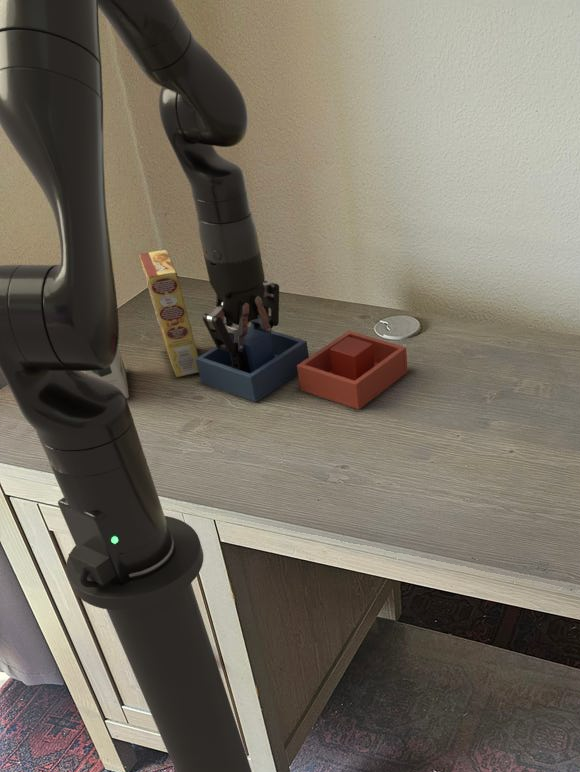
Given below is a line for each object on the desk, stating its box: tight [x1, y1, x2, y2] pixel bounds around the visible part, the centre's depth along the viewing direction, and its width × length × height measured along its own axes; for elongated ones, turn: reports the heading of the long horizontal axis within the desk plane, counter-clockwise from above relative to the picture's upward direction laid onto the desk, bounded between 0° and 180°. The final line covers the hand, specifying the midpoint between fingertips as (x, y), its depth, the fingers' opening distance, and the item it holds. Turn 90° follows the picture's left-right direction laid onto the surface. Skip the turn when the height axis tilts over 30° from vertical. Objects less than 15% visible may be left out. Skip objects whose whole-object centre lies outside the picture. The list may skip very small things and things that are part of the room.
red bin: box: [297, 330, 409, 410], centre depth 127 cm, size 13×11×4 cm
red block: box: [330, 337, 375, 381], centre depth 127 cm, size 4×4×5 cm
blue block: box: [230, 326, 275, 374], centre depth 128 cm, size 4×4×5 cm
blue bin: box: [196, 324, 310, 403], centre depth 129 cm, size 13×11×4 cm
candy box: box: [139, 249, 199, 378], centre depth 127 cm, size 9×4×15 cm, turn 24°
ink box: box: [83, 347, 130, 399], centre depth 123 cm, size 9×5×12 cm, turn 18°
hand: (254, 364), depth 129 cm, fingers closed on blue block, 4 cm apart
